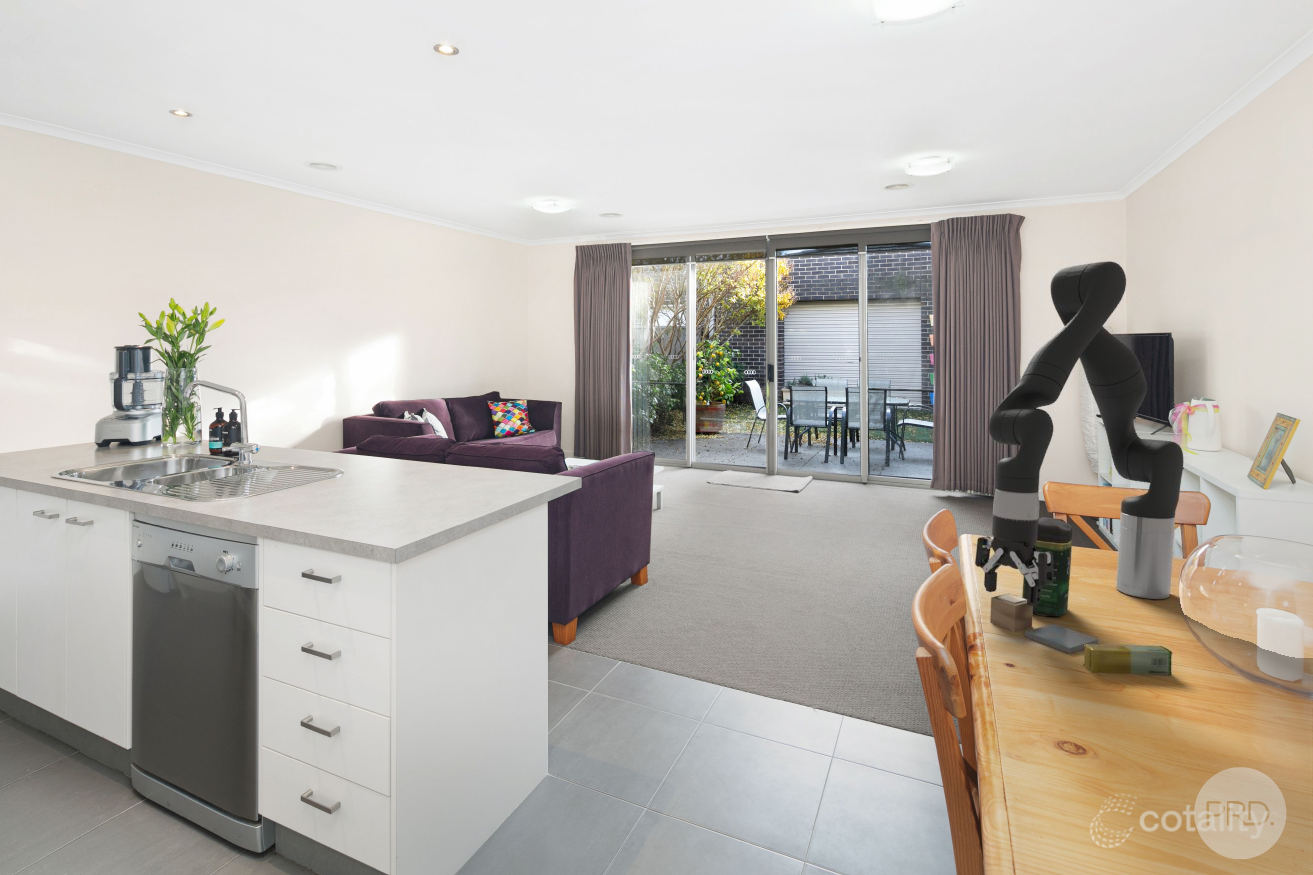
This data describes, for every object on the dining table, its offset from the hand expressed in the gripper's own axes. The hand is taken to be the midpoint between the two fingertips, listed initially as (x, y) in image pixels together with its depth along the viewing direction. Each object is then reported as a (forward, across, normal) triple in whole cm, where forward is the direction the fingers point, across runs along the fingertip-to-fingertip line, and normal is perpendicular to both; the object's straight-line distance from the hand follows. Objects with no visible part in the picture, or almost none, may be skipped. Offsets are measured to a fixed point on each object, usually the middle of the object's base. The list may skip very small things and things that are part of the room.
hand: (1010, 597), depth 122 cm
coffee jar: (+5, +2, -13) cm, 15 cm away
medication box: (+6, -21, 0) cm, 21 cm away
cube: (+5, 0, 0) cm, 5 cm away
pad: (+5, -9, -1) cm, 10 cm away
